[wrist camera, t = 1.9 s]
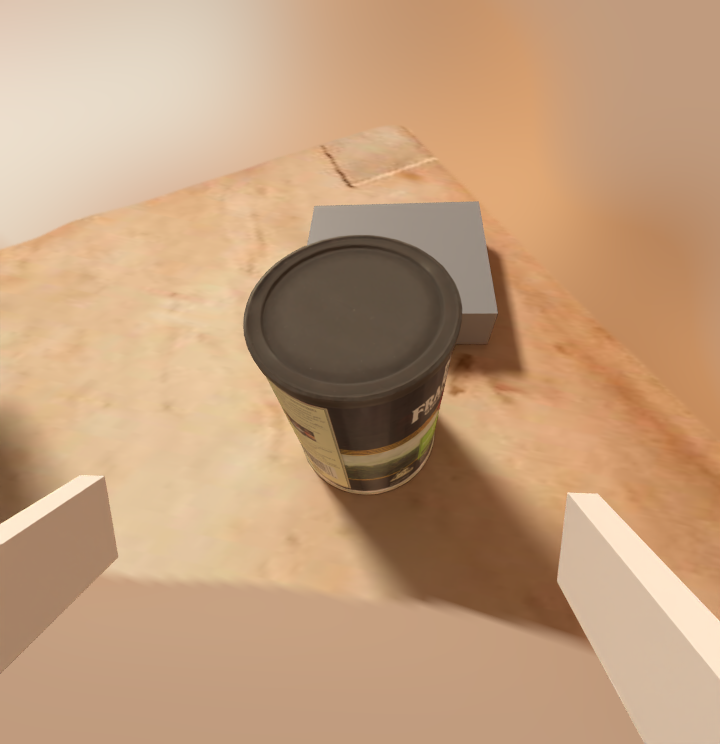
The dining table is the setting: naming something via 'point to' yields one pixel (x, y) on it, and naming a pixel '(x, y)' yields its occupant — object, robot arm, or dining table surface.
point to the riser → (428, 248)
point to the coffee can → (357, 354)
